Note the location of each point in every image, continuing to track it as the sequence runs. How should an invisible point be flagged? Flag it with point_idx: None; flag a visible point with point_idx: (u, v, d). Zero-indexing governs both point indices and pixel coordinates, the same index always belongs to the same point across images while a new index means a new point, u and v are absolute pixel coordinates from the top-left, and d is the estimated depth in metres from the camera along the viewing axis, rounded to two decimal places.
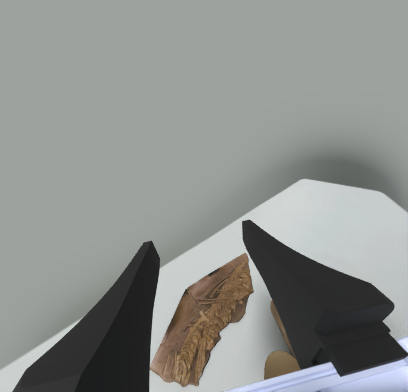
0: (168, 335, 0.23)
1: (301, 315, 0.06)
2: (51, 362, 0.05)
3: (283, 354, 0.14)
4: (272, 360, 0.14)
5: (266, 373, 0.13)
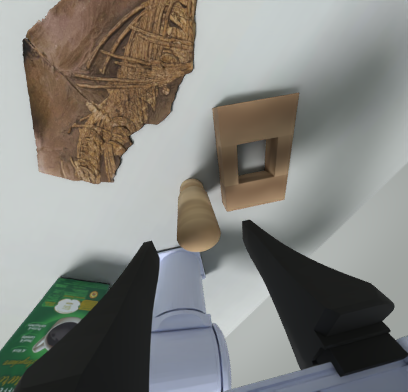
0: (42, 138, 0.14)
1: (301, 315, 0.06)
2: (51, 362, 0.05)
3: (203, 221, 0.11)
4: (188, 226, 0.11)
5: (178, 235, 0.11)
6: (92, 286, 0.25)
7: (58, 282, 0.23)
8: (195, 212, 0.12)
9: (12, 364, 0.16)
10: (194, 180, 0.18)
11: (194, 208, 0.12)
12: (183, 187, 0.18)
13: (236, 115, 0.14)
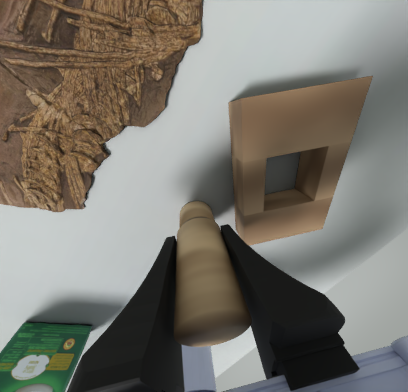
0: None
1: (261, 325, 0.06)
2: (106, 348, 0.05)
3: (224, 311, 0.06)
4: (195, 321, 0.06)
5: (177, 333, 0.06)
6: (68, 331, 0.19)
7: (22, 330, 0.18)
8: (207, 287, 0.06)
9: None
10: (199, 204, 0.13)
11: (204, 274, 0.07)
12: (184, 216, 0.12)
13: (269, 113, 0.09)
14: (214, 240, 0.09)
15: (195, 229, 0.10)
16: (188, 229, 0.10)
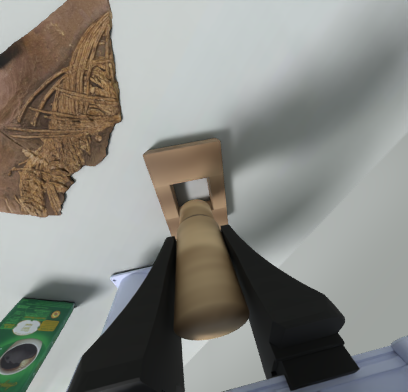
0: None
1: (261, 325, 0.06)
2: (106, 348, 0.05)
3: (224, 304, 0.06)
4: (195, 313, 0.06)
5: (177, 325, 0.06)
6: (55, 306, 0.26)
7: (20, 303, 0.24)
8: (207, 281, 0.07)
9: None
10: (200, 202, 0.13)
11: (205, 269, 0.07)
12: (184, 213, 0.12)
13: (162, 161, 0.15)
14: (214, 237, 0.09)
15: (196, 226, 0.10)
16: (189, 226, 0.10)
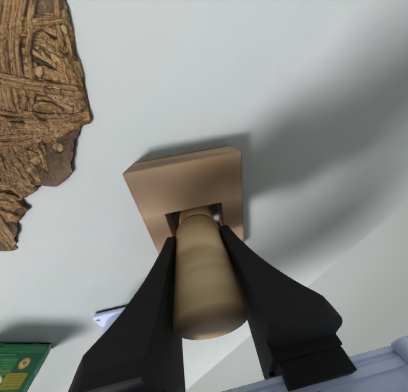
0: None
1: (259, 326, 0.06)
2: (107, 348, 0.05)
3: (223, 304, 0.06)
4: (195, 312, 0.06)
5: (176, 325, 0.06)
6: (25, 351, 0.21)
7: None
8: (207, 281, 0.07)
9: None
10: None
11: (204, 269, 0.07)
12: (184, 213, 0.12)
13: (153, 182, 0.10)
14: (214, 237, 0.09)
15: (195, 226, 0.10)
16: (188, 226, 0.10)
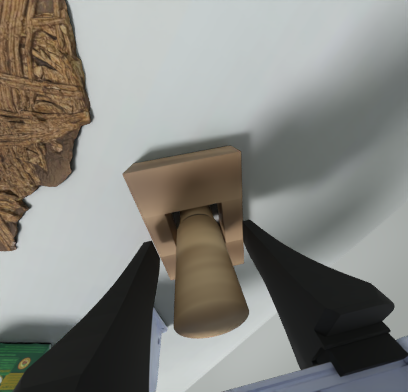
0: None
1: (301, 315, 0.06)
2: (51, 362, 0.05)
3: (223, 302, 0.06)
4: (195, 310, 0.06)
5: (177, 323, 0.06)
6: (25, 351, 0.21)
7: None
8: (207, 279, 0.07)
9: None
10: None
11: (205, 268, 0.07)
12: (184, 213, 0.12)
13: (153, 182, 0.10)
14: (214, 236, 0.09)
15: (195, 225, 0.10)
16: (189, 225, 0.10)
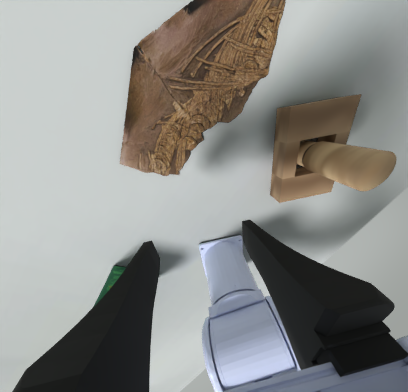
0: (129, 133, 0.16)
1: (301, 315, 0.06)
2: (51, 362, 0.05)
3: (389, 154, 0.12)
4: (375, 159, 0.12)
5: (362, 168, 0.12)
6: None
7: (114, 269, 0.25)
8: (373, 149, 0.12)
9: None
10: None
11: (364, 148, 0.13)
12: (305, 145, 0.18)
13: (304, 114, 0.16)
14: None
15: (329, 143, 0.16)
16: (323, 144, 0.16)
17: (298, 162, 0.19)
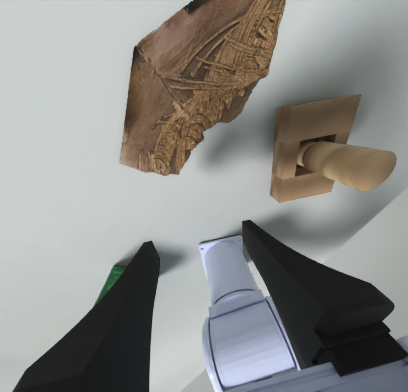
0: (129, 133, 0.16)
1: (301, 315, 0.06)
2: (51, 362, 0.05)
3: (389, 154, 0.12)
4: (375, 159, 0.12)
5: (362, 168, 0.12)
6: None
7: (114, 269, 0.25)
8: (373, 149, 0.12)
9: None
10: None
11: (364, 148, 0.13)
12: (305, 145, 0.18)
13: (304, 114, 0.16)
14: None
15: (329, 143, 0.16)
16: (323, 144, 0.16)
17: (298, 162, 0.19)
